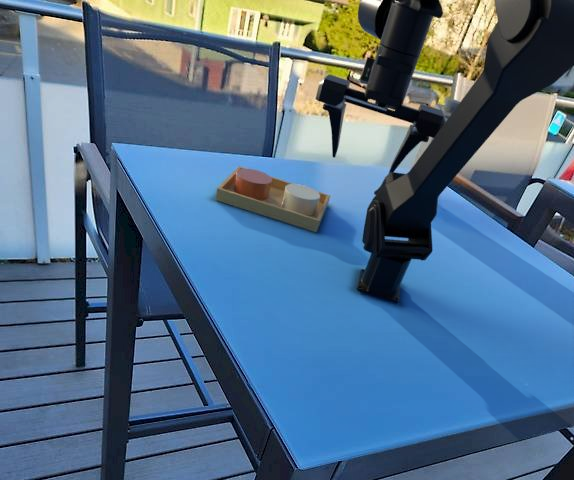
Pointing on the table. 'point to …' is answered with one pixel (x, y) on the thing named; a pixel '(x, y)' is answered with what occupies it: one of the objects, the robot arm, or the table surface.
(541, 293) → the table surface
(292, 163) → the table surface
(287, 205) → the white short cylinder
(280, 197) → the serving tray
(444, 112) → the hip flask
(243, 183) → the reddish-brown short cylinder
